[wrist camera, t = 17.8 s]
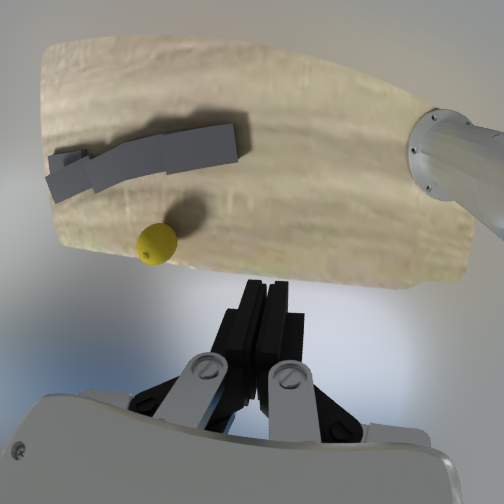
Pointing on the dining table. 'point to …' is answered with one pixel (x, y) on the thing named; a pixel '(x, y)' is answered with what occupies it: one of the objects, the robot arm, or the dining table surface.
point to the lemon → (156, 244)
